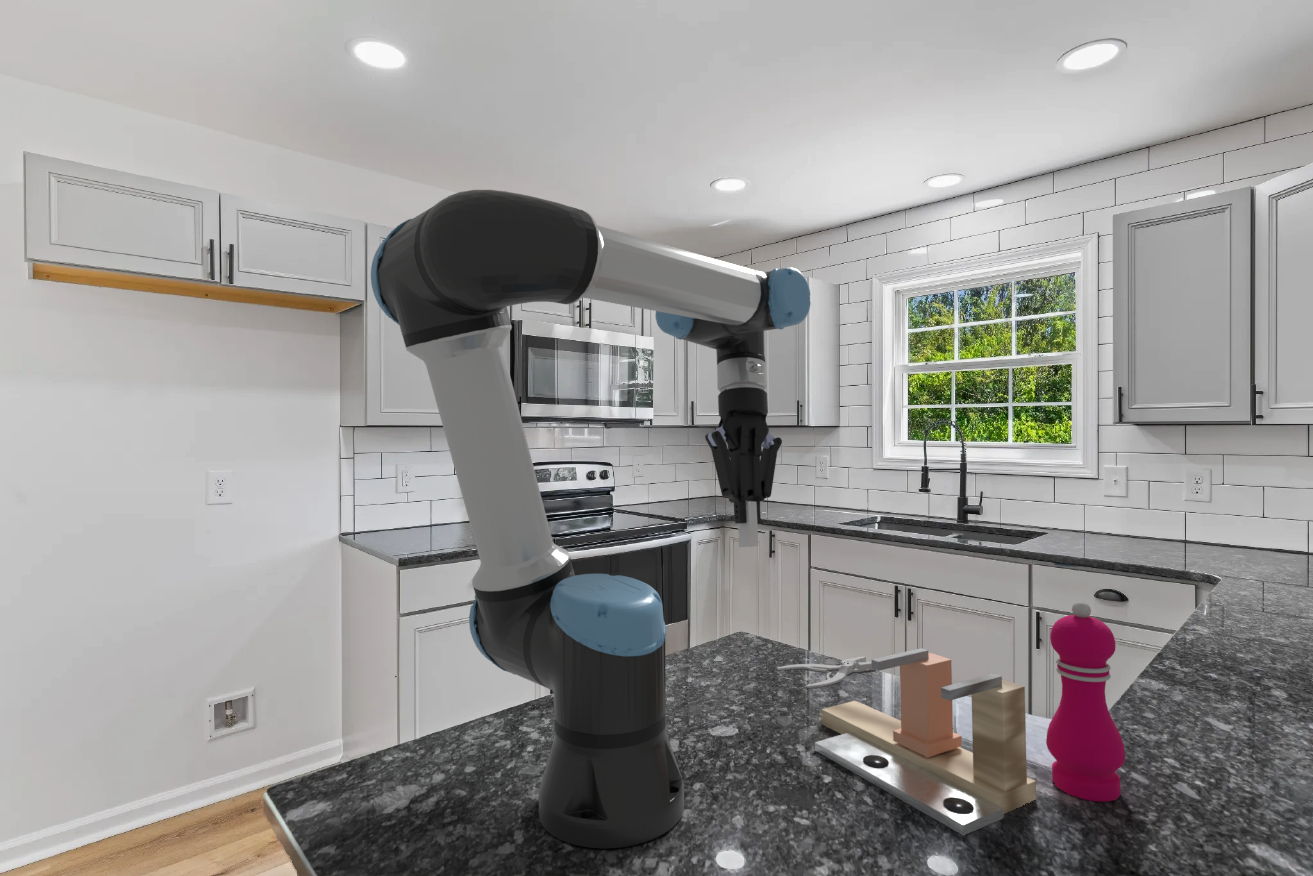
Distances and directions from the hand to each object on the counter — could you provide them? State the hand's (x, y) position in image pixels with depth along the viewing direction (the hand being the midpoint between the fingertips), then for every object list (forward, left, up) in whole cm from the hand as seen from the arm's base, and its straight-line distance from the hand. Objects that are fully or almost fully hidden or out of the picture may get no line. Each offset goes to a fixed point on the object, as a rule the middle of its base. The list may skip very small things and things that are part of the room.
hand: (748, 546), depth 101 cm
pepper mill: (+16, -39, -23) cm, 48 cm away
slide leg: (+3, -27, -20) cm, 34 cm away
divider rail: (+3, -25, -23) cm, 34 cm away
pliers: (+18, +3, -23) cm, 30 cm away
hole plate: (0, -28, -23) cm, 36 cm away
